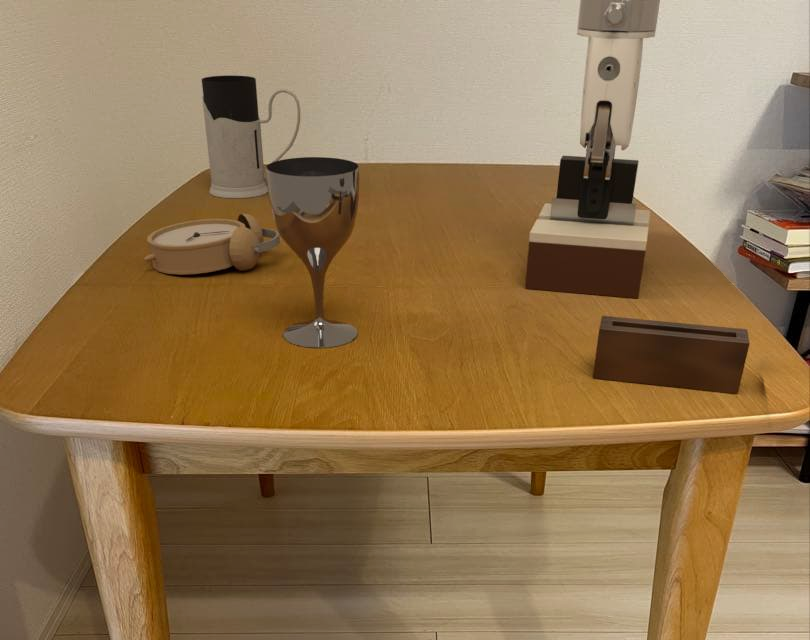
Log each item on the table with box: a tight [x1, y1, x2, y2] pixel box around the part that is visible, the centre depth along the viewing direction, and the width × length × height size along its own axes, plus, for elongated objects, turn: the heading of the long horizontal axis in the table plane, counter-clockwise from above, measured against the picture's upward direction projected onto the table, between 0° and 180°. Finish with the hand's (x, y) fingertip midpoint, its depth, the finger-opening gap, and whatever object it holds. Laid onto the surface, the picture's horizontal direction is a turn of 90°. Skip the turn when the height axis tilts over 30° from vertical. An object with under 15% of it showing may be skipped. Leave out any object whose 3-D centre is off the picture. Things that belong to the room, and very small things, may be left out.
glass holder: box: [201, 75, 301, 199], centre depth 127 cm, size 9×14×15 cm, turn 88°
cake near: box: [524, 218, 649, 299], centre depth 95 cm, size 12×6×6 cm, turn 75°
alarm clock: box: [143, 213, 281, 276], centre depth 101 cm, size 11×5×15 cm
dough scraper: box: [550, 155, 640, 226], centre depth 96 cm, size 9×2×12 cm, turn 75°
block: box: [592, 315, 751, 395], centre depth 75 cm, size 12×3×4 cm, turn 75°
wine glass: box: [266, 156, 360, 349], centre depth 80 cm, size 8×8×15 cm
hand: (593, 213), depth 96 cm, fingers closed on dough scraper, 2 cm apart
